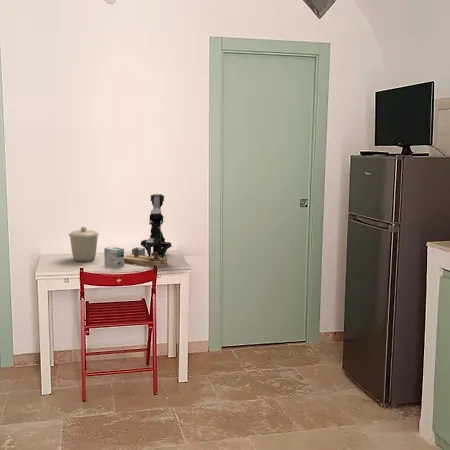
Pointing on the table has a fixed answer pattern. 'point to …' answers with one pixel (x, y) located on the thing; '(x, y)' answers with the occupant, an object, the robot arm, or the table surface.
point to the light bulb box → (114, 256)
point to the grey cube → (139, 251)
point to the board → (143, 259)
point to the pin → (156, 255)
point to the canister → (83, 244)
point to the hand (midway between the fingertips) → (156, 257)
